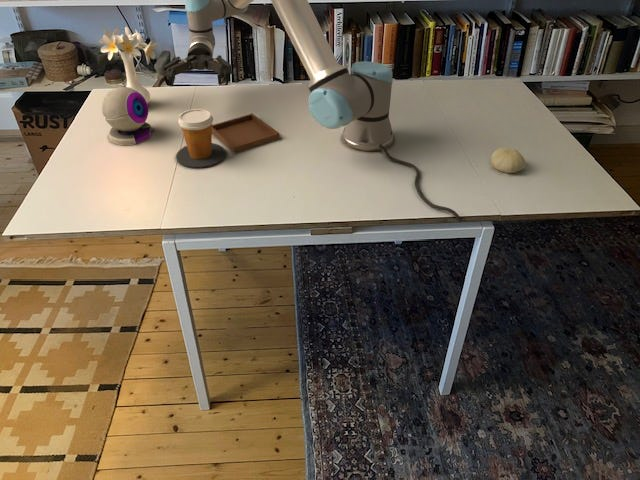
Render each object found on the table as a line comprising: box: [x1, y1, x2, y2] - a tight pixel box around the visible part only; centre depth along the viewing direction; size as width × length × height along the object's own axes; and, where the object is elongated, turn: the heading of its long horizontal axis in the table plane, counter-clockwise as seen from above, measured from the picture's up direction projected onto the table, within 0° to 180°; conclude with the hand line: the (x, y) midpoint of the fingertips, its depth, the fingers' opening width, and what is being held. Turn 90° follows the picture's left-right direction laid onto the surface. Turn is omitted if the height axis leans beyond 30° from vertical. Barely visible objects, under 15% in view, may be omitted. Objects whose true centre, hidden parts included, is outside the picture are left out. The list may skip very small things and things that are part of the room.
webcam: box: [101, 86, 154, 146], centre depth 163 cm, size 13×13×15 cm
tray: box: [212, 113, 281, 154], centre depth 167 cm, size 17×16×2 cm
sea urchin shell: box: [490, 147, 526, 174], centre depth 153 cm, size 9×8×8 cm
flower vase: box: [98, 26, 159, 104], centre depth 175 cm, size 13×18×25 cm
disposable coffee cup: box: [177, 108, 214, 159], centre depth 154 cm, size 10×10×12 cm
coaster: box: [175, 142, 226, 169], centre depth 158 cm, size 14×14×1 cm
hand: (195, 80), depth 154 cm, fingers open, 13 cm apart
